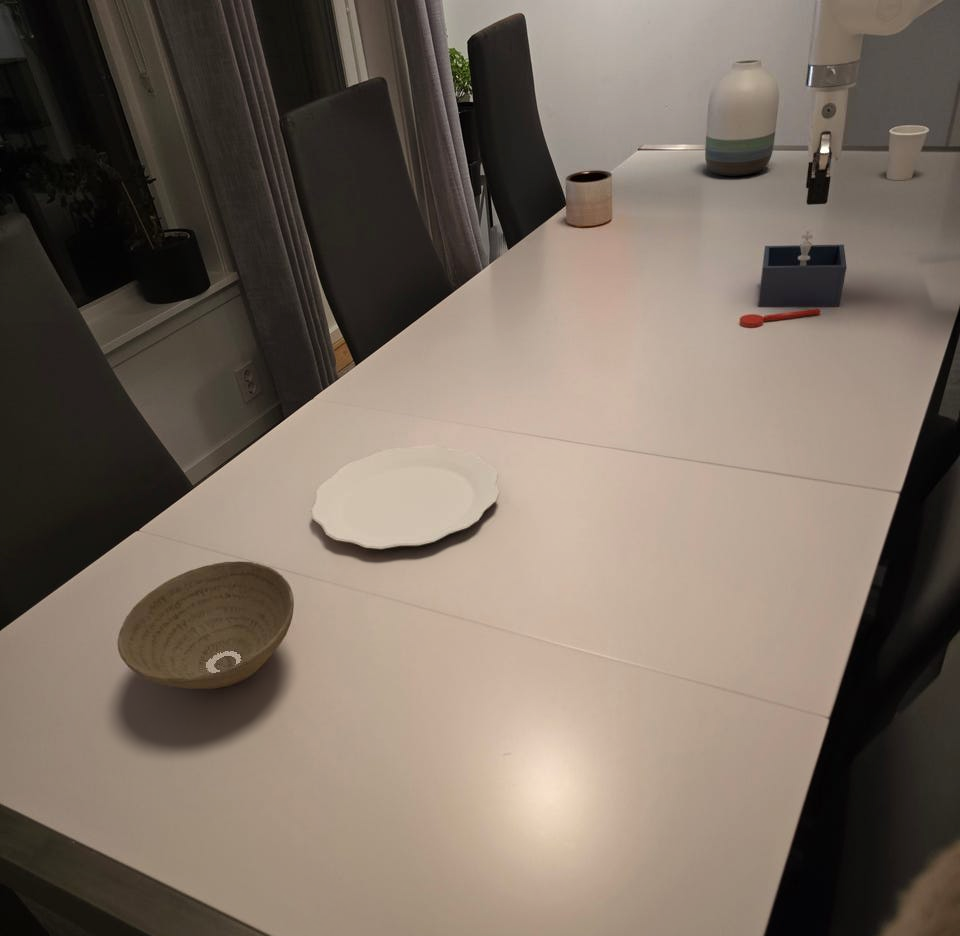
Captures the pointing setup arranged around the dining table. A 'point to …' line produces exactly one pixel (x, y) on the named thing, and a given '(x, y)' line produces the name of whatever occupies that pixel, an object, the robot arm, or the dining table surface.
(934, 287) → the dining table surface
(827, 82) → the robot arm
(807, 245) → the chess piece
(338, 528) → the plate
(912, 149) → the dixie cup
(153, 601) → the bowl
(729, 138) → the vase
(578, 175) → the planter
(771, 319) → the red spoon
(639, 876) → the dining table surface
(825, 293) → the bin
